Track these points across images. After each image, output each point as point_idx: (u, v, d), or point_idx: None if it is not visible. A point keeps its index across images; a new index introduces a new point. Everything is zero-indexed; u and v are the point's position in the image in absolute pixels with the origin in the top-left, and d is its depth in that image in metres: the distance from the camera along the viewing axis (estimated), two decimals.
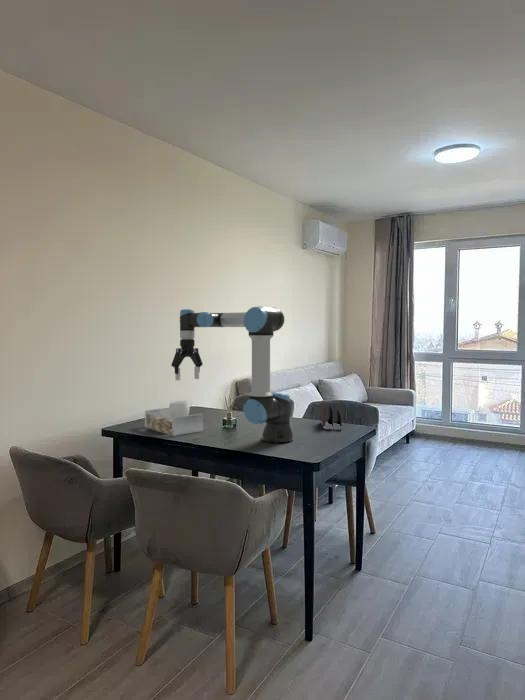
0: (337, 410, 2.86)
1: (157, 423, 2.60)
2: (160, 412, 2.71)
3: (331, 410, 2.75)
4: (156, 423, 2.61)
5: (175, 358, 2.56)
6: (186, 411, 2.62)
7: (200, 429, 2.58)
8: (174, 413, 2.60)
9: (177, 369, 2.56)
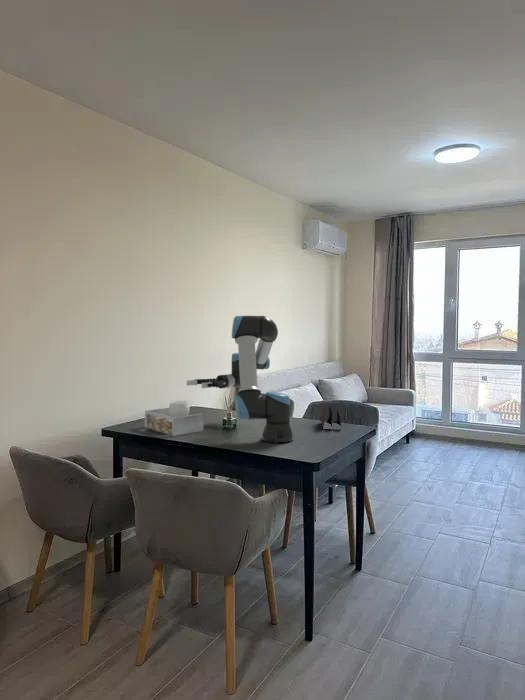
0: None
1: (157, 423, 2.60)
2: (160, 412, 2.71)
3: None
4: (156, 423, 2.61)
5: None
6: (186, 411, 2.62)
7: (200, 429, 2.58)
8: (174, 413, 2.60)
9: None
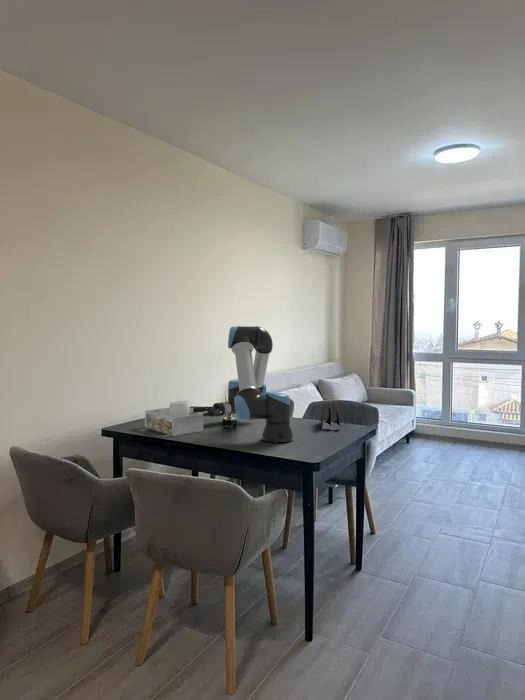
0: (336, 410, 2.85)
1: (157, 423, 2.60)
2: (160, 412, 2.71)
3: None
4: (156, 423, 2.61)
5: None
6: (186, 411, 2.62)
7: (200, 429, 2.58)
8: (174, 413, 2.60)
9: None
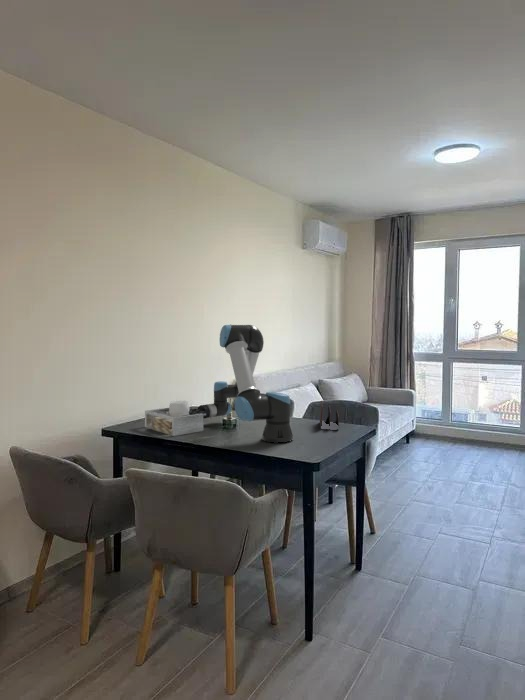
0: None
1: (157, 423, 2.60)
2: (160, 412, 2.71)
3: None
4: (156, 423, 2.61)
5: None
6: (186, 411, 2.62)
7: (200, 429, 2.58)
8: (174, 413, 2.60)
9: None
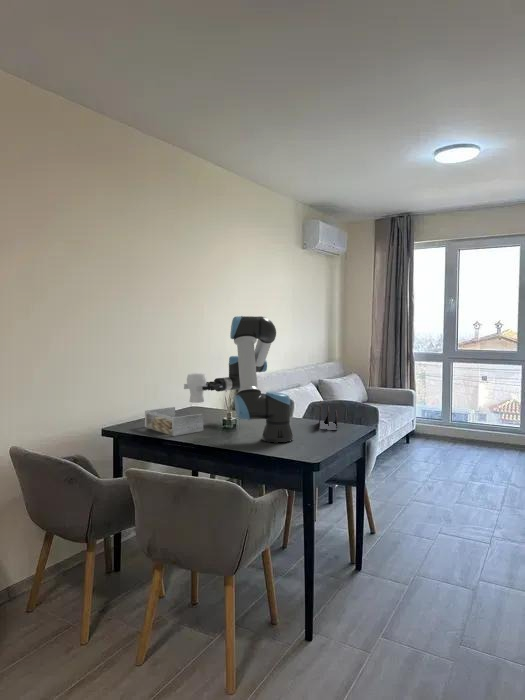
0: (335, 410, 2.85)
1: (157, 423, 2.60)
2: (160, 412, 2.71)
3: None
4: (156, 423, 2.61)
5: None
6: (204, 383, 2.69)
7: (200, 429, 2.58)
8: (192, 384, 2.67)
9: None
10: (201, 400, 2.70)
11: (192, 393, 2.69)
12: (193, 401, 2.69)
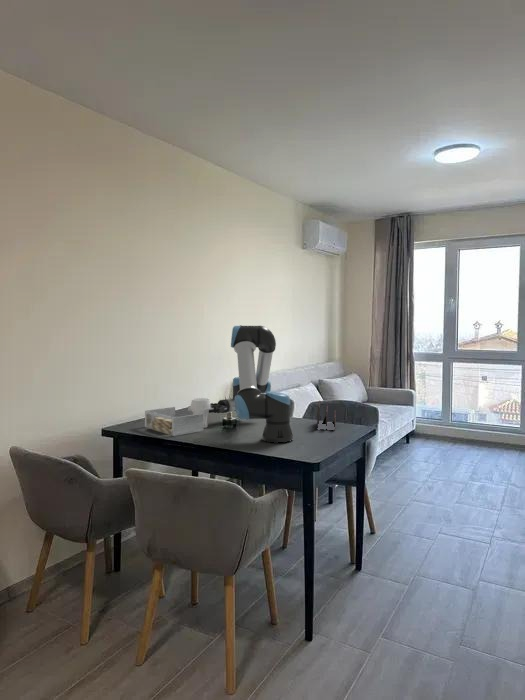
0: (334, 410, 2.85)
1: (157, 423, 2.60)
2: (160, 412, 2.71)
3: None
4: (156, 423, 2.61)
5: None
6: (207, 408, 2.72)
7: (200, 429, 2.58)
8: (196, 410, 2.70)
9: None
10: (205, 425, 2.73)
11: None
12: None
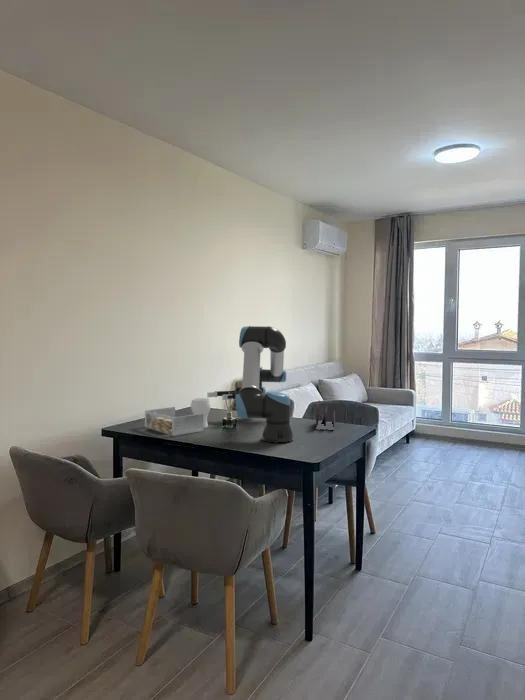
0: None
1: (157, 423, 2.60)
2: (160, 412, 2.71)
3: None
4: (156, 423, 2.61)
5: None
6: (207, 408, 2.72)
7: (200, 429, 2.58)
8: (196, 410, 2.70)
9: None
10: (205, 425, 2.73)
11: None
12: None
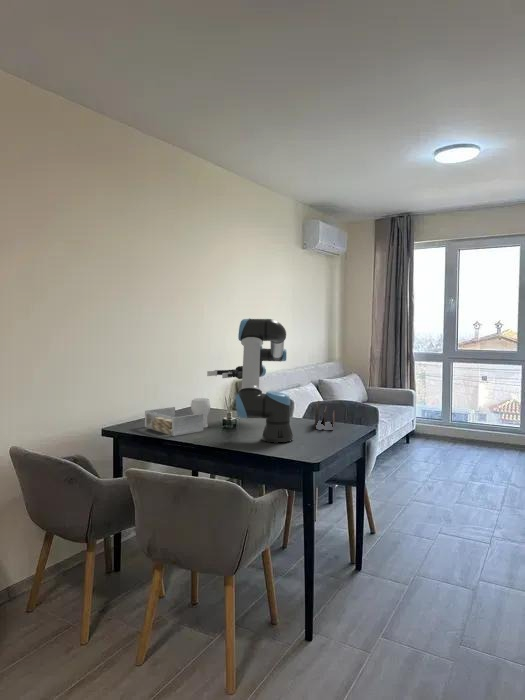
0: (333, 410, 2.84)
1: (157, 423, 2.60)
2: (160, 412, 2.71)
3: (324, 410, 2.74)
4: (156, 423, 2.61)
5: None
6: (207, 408, 2.72)
7: (200, 429, 2.58)
8: (196, 410, 2.70)
9: None
10: (205, 425, 2.73)
11: None
12: None
